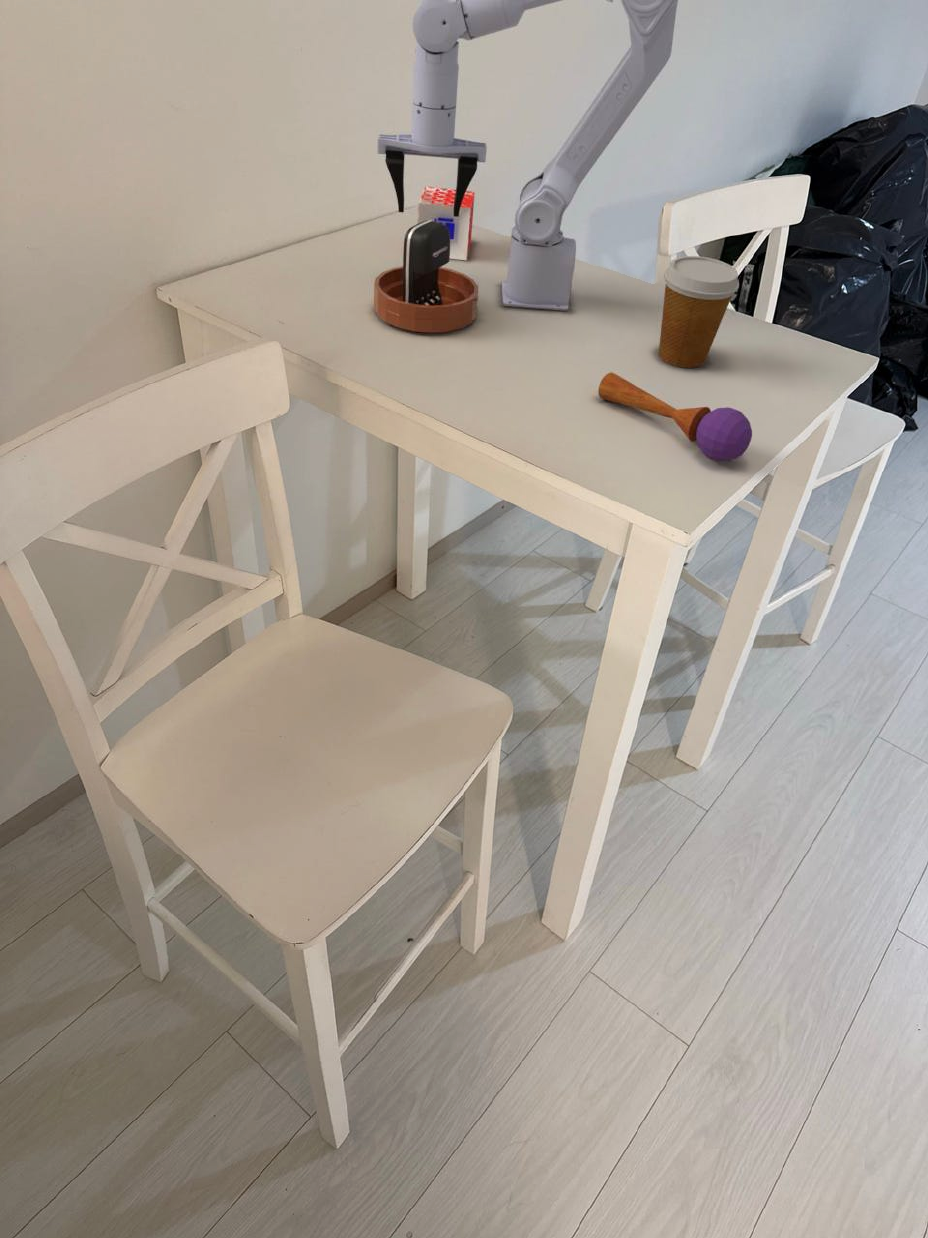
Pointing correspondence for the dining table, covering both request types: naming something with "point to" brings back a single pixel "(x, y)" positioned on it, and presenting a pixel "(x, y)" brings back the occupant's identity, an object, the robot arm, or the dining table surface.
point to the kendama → (688, 419)
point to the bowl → (446, 317)
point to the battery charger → (424, 262)
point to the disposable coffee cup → (694, 308)
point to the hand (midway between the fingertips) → (428, 211)
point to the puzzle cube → (449, 217)
